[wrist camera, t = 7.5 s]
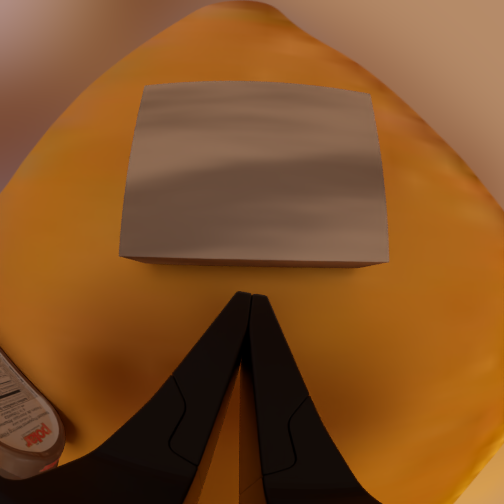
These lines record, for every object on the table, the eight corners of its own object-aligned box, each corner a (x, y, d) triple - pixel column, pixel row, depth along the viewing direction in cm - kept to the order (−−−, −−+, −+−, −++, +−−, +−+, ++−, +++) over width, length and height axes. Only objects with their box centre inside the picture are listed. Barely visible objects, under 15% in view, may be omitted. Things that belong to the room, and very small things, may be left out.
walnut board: (388, 262, 13) (370, 94, 14) (119, 256, 12) (144, 85, 13) (357, 267, 17) (348, 127, 18) (146, 263, 16) (161, 121, 17)
